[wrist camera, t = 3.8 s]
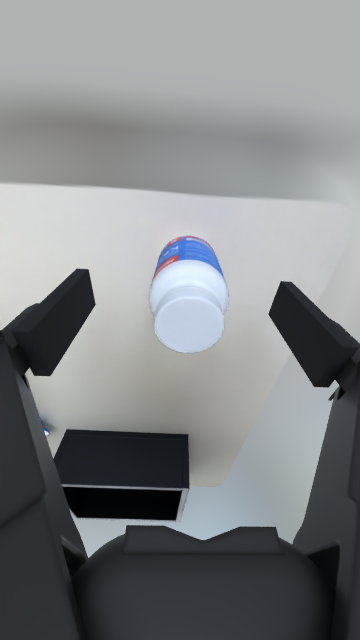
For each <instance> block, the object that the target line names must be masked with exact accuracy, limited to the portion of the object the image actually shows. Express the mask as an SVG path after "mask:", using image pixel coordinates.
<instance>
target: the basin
mask: <svg viewBox="0 0 360 640" xmlns="http://www.w3.org/2000/svg"><path fill="white" fill-rule="evenodd" d="M53 460H54V463H55V466H56V469H57V472H58V475H59V479H60V482H61V485H62V488H63V491H64V494H65V497H66V500H67V503H68V506H69V509H70V513H71V515H72V518H73V519H97V520H131V521H166V522H167V521H169V522H180V521H181V518H182V514H183V510H184V507H185V503H186V499H187V495H188V492H189V449H188V435H184V434H161V433H137V432H113V431H90V430H66V432H65V434H64V437H63V439H62V441H61V443H60V446H59V448H58V450H57V452H56V454H55V457H54V459H53Z"/></svg>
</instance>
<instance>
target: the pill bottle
mask: <svg viewBox="0 0 360 640" xmlns="http://www.w3.org/2000/svg"><path fill="white" fill-rule="evenodd" d="M228 303H229V293H228V288H227V285H226V282H225V279H224V276H223V273H222V270H221V268H220V265H219V263H218V260H217V257H216V255H215V252H214V250H213V249H212V247H211V246H210V245H209V244H208V243H207V242H206V241H205V240H203V239H201V238H199V237H196V236H191V235H185V236H180V237H177V238H175V239H173V240H172V241H170V242H169V243H168V244H167V245H166V246H165V247H164V249H163V250H162V252H161V254H160V256H159V260H158V263H157V267H156V270H155V273H154V277H153V280H152V284H151V288H150V293H149V304H150V308H151V311H152V313H153V315H154V317H155V321H154V328H155V333H156V335H157V337H158V339H159V340H160V341H161V342H162V343H163V344H164V345H165V346H166V347H168V348H170V349H172V350H174V351H177V352H182V353H195V352H200V351H203V350H206V349H208V348H210V347H211V346H213V345H214V344H215V343H216V342H217V341H218V340H219V339H220V338H221V336H222V334H223V331H224V324H225V323H224V317H223V316H224V314H225V312H226V310H227V307H228Z"/></svg>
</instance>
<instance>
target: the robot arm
mask: <svg viewBox="0 0 360 640" xmlns="http://www.w3.org/2000/svg"><path fill="white" fill-rule="evenodd" d="M94 306H95V300H94V294H93V289H92V284H91V279H90V274H89V269H76V270H75V271H74V272H73V273H72V274H71V275H70V276H69V277H67V278H66V279H65V280H64V281H63V282H62V283H61V284H60V285H59V286H58V287H57V288H56V289H55V290H54V291H53V292H51V293H50V294H49V295H48V296H47V297H46V298H45V299H44V300H43V301H42V302H41V303H36V304H34V305H32V306H30V307H28V308H26V309H25V310H24V311H23V312H22V313H21V314H20V315H18V316H17V317H16V318H15V320H13V321H12V322H10V323H9V324H8V325H7V326H6V327H5V328H4V329H2V330H0V640H360V343H358V342H357V341H356V340H355V339H354V338H353V337H352V336H350V334H349V333H348V332H347V331H345V329H344V328H343V327H342V326H340V325H339V324H338V323H336V322H335V321H333V320H331V319H329V318H328V317H327V316H326V315H325V314H324V313H323V312H322V311H321V310H320V309H319V308H318V307H317V306H316V305H315V304H314V303H313V302H312V301H311V300H310V299H309V298H308V297H307V296H306V295H304V294H303V293H302V292H301V291H300V290H299V289H298V288H297V287H296V286H295V285H294V284H293V283H292V282H284V281H281V282H280V285H279V287H278V290H277V293H276V295H275V298H274V301H273V303H272V306H271V309H270V311H269V314H268V315H269V316H270V318H271V319H272V321H273V322H274V324H275V326H276V327H277V329H278V330H279V332H280V334H281V335H282V337H283V338H284V340H285V341H286V343H287V345H288V346H289V348H290V349H291V351H292V353H293V354H294V356H295V357H296V359H297V360H298V362H299V364H300V365H301V367H302V368H303V370H304V372H305V373H306V375H307V376H308V378H309V379H310V381H311V383H312V384H313V386H314V387H329V386H330V385H331V384H332V382H333V381H334V380H336V381H337V383H338V384H339V385H340V386H339V387H338V388H337V389H336V391H335V392H334V393H333V394H332V395H331V397H330V398H329V400H330V401H331V400H332V399H333V404H332V408H331V412H330V416H329V420H328V424H327V429H326V432H325V436H324V440H323V444H322V449H321V453H320V457H319V461H318V465H317V469H316V473H315V477H314V482H313V486H312V489H311V494H310V498H309V502H308V506H307V510H306V514H305V518H304V521H303V523H302V526H301V527H300V529H299V531H298V532H297V534H296V536H295V538H294V541H293V544H290V543H288V542H287V541H284V540H283V539H281V538H279V537H278V533H277V530H276V527H238V528H235V529H233V530H230V531H228V532H225V533H222V534H220V535H218V536H215V537H212V538H210V539H207V540H199V539H197V538H194V537H191V536H189V535H186V534H184V533H181V532H179V531H176V530H174V529H171V528H168V527H166V526H140V525H139V526H138V525H137V526H136V525H127V526H126V533H125V534H124V535H121V536H118V537H116V538H115V539H113V540H111V541H109V542H108V543H106V544H105V545H103V546H102V547H101V548H99V549H98V550H97V551H96V552H95V553H94V554H93V555H92V556H91V557H89V558H88V556H87V554H86V551H85V547H84V545H83V542H82V539H81V537H80V534H79V532H78V530H77V528H76V525H75V523H74V521H73V518H72V515H71V513H70V509H69V506H68V503H67V500H66V497H65V494H64V491H63V488H62V485H61V482H60V479H59V475H58V472H57V469H56V466H55V463H54V460H53V457H52V454H51V451H50V448H49V445H48V441H47V438H46V435H45V432H44V429H43V426H42V423H41V420H40V417H39V414H38V411H37V407H36V404H35V401H34V398H33V395H32V392H31V389H30V386H29V383H28V380H27V377H26V375H25V373H26V371H27V370H28V369H29V367H30V369H31V371H32V373H33V375H34V376H51V374H52V373H53V371H54V370H55V368H56V366H57V365H58V363H59V362H60V360H61V359H62V357H63V355H64V354H65V352H66V351H67V349H68V347H69V346H70V344H71V343H72V341H73V340H74V338H75V336H76V335H77V333H78V332H79V330H80V329H81V327H82V325H83V324H84V322H85V321H86V319H87V317H88V316H89V314H90V313H91V311H92V310H93V308H94Z"/></svg>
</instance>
